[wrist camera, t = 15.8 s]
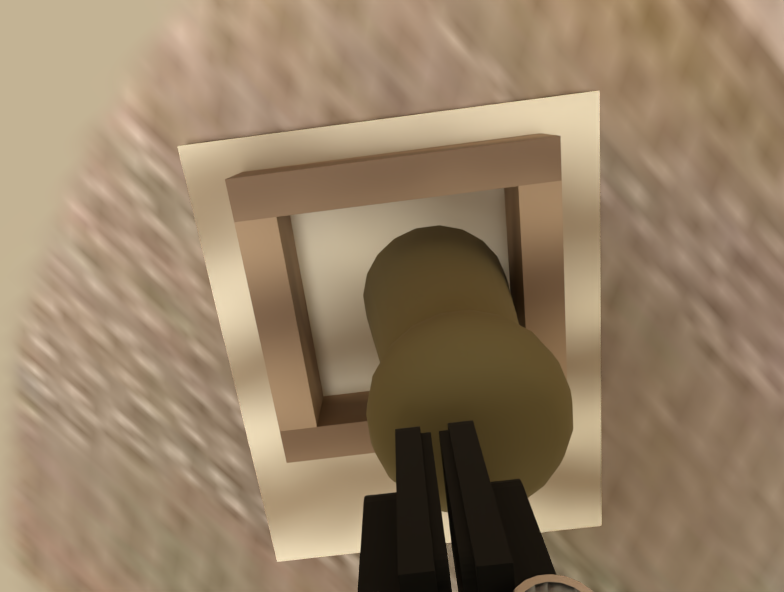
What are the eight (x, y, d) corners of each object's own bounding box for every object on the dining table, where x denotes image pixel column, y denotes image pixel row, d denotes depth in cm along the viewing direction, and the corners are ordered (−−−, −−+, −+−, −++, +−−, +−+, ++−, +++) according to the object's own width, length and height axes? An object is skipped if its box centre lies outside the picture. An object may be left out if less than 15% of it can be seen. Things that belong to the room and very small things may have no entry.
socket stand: (594, 511, 28) (622, 565, 24) (280, 546, 28) (267, 604, 25) (590, 91, 21) (627, 87, 18) (186, 144, 22) (151, 150, 19)
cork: (457, 195, 22) (527, 272, 11) (534, 313, 23) (657, 477, 13) (333, 279, 23) (291, 421, 12) (415, 387, 24) (439, 594, 14)
